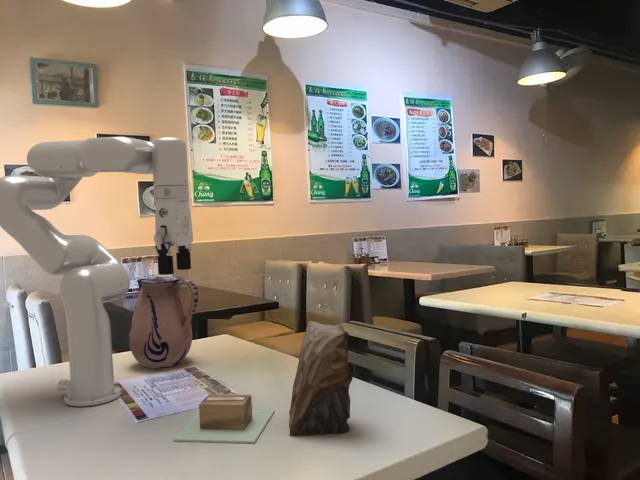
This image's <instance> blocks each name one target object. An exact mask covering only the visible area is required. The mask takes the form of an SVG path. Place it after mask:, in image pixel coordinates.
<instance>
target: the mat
mask: <svg viewBox="0 0 640 480" xmlns="http://www.w3.org/2000/svg"><path fill="white" fill-rule="evenodd" d="M274 414H275V410H273V409H271V410H270V409H252V420H251V421H250V423H249V424H248V425H247V427H246V428H245V430H217V429H200V416H199V412H198V413H197V414H196V415H195V416H194V417H193V418H192V419H191V421H190V422H188V423H187V424H186V425H185V426H184V427H183V428H182V429H181V431H179V432H178V433H177V434H176V436H175V437H173V438H172V442H181V443H182V442H183V443H184V442H187V443H190V442H191V443H217V444H218V443H219V444H220V443H221V444H222V443H223V444H225V443H227V444H229V443H230V444H256V442H257V440H259V438H260V436H261V435H262V433H263V431H264V429H265V428H266V427H267V425H268V423H269V422H270V420H271V419H272V417H273V416H274Z"/></svg>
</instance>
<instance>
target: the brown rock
mask: <svg viewBox="0 0 640 480" xmlns="http://www.w3.org/2000/svg"><path fill="white" fill-rule="evenodd" d="M303 335H304V336H303V339H302V342H301V346H300V352H299V356H298V357H299V358H298V363H297V366H296V367H297V368H296V373H295V378H294V380H293V385H292V394H291V401H290V408H289V410H288V411H289V414H288V415H289V422H288V429H289V433H288V435H289V437H295V436H296V437H299V436H314V435H315V436H317V435H318V436H320V435H321V436H325V435H341V434H346V433H348V432H350V426H349V423H348V420H349V419H350V418H351V396H350V391H349V390H350V385H351V383H352V381H353V379H354V378H353V377H354V376H353V373H352V369H351V368H350V367H349V359H348V358H349V356H348V355H349V344H348V338H349V333H348V332H347V330H345V328H344V327H343V325H341V324H335V325H332V324H325V323H324V324H323V323H320V322H318V321H313V320H308V321H307V324H306V329H305V332H304V334H303Z"/></svg>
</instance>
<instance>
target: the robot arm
mask: <svg viewBox="0 0 640 480" xmlns="http://www.w3.org/2000/svg"><path fill="white" fill-rule="evenodd" d="M26 163H27V166H28V167H29V169H30V170H31V171H32V172H33V173H34V174H36V175H38V176H36V175H24V174H23V175H21V174H18V175H17V174H12V175H6V176H2V177H0V228H1V229H2V230H3V231H4V232H6V234H8V235H9V236H10V237H11V238H13V239H14V241H16V243H18V244H19V245H20V246H21V248H22V249H24V251H25V252H26V253H27V254H28V255H29V256H30V257H31V258H32V260H34V261H35V262H36V263H37V264H38V265H39V266H40V267H41V269H43V270H44V272H46V273H47V274H49V275H52V276H63V277H62V278H61V280H60V284H59V293H60V298H61V301H62V304H63V308H64V313H65V320H66V331H67V333H66V334H67V343H68V344H67V345H68V346H67V347H68V359H69V360H68V363H69V365H68V366H69V376H70V377H69V378H70V379H69V380H68V379H60V380H59V381H58V384H57V386H56V390H57V391H66V394H65V395H64V398H63V399H64V404H66V405H67V406H70V407H71V406H72V407H91V406H97V405H103V404H105V403H108V402H111V401H114V400H117V399H118V398H119V397H121V395H122V388H121V387H119V386H118V385H115V378H114V362H113V361H114V360H113V345H112V344H113V343H112V330H111V329H112V328H111V327H112V326H111V319H110V317H109V315H108V312H107V310H106V308H105V306H104V303H109V302H112V301H116V300H119V299H121V298H123V297H124V296H125V295H126V294H127V293H128V292H129V289H130V286H131V279H130V275H129V273H128V272H129V271H127V269H126V268H125V266H124V265H123V264H122V263H121V262H120V261H119V260H118V259H117V258H116V257H115V256H114V255H113V254H112V253H111V252H110V251H109V250H108V249H107V248H106V247H105V246H104V245H103V244H102V243H101V242H99V241H98V240H97V239H96V238H94V237H92V236H89V235H87V234H86V235H85V234H70V235H69V234H64V233H62V232H61V231H59V230H58V229H57V228H56V227H55V226H54V225H53V224H52V223H51V222H50V221H49V220H48V219H47V218H45V217H43V216H42V215H40V214H38V213H37V212H35V211H45V210H52V209H55V208H57V207H58V206H60V205H61V204H62V203H63V202H64V201H65V200H66V199H67V197H68V196H69V195H70V193H72V192H73V190H74V189H75V188H76V187H77V185H78V184H79V183H80V182H81V180H82V179H83V178H91V177H94V176H95V175H96V174H97V173H129V174H130V173H131V174H136V175H137V174H138V175H152V184H153V187H152V188H153V202H155V215H154V216H155V218H154V219H155V225H154V229H155V234H154V235H153V240H154V244H155V245H154V247H155V249H156V256H157V268H158V269H157V270H158V275H159V276H164V275H165V276H168V275H169V276H171V275H174V272H175V270H174V256H173V255H172V252H173V248H174V245H175V248H176V250H177V252H176V253H175V254H176V255H175V256H176V269H177V270H178V271H180V270H182V271H183V270H184V271H185V270H186V271H187V270H191V269H192V264H191V263H192V262H191V261H192V260H191V258H192V257H191V251H192V250H191V245H192V243H193V241H194V233H193V223H192V222H193V221H192V216H191V208H190V204H189V201H190V189H189V170H188V169H189V167H188V147H187V143H186V141H185V140H184V139H182V138H179V137H172V136H171V137H168V136H167V137H160V138H159V137H158V138H155V139H154V140H152V141H148V140H143V139H139V138H138V139H137V138H132V137H126V136H108V137H106V136H105V137H103V136H101V137H90V138H85V139H82V140H81V139H80V140H58V141H57V140H56V141H43V142H40V143H37V144H35V145H33V146H32V147H31V148H30V149H29V150H28V151H27V155H26Z"/></svg>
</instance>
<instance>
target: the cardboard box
mask: <svg viewBox="0 0 640 480" xmlns="http://www.w3.org/2000/svg"><path fill="white" fill-rule="evenodd" d="M252 400H253V399H252V394H230V393H229V394H226V393H225V394H221V393H217V394H216V393H215V394H214V393H213V394H212V393H211V394H210V393H209V394H208V395H207V396H205V398H204V399H203V400H202V401H201V402H200V403H199V404H198V409H199V410H198V413H199V416H200V429H217V430H245V428H246V427H247V425H248V424H249V423H250V421H251V420H252V410H253V402H252Z"/></svg>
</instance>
